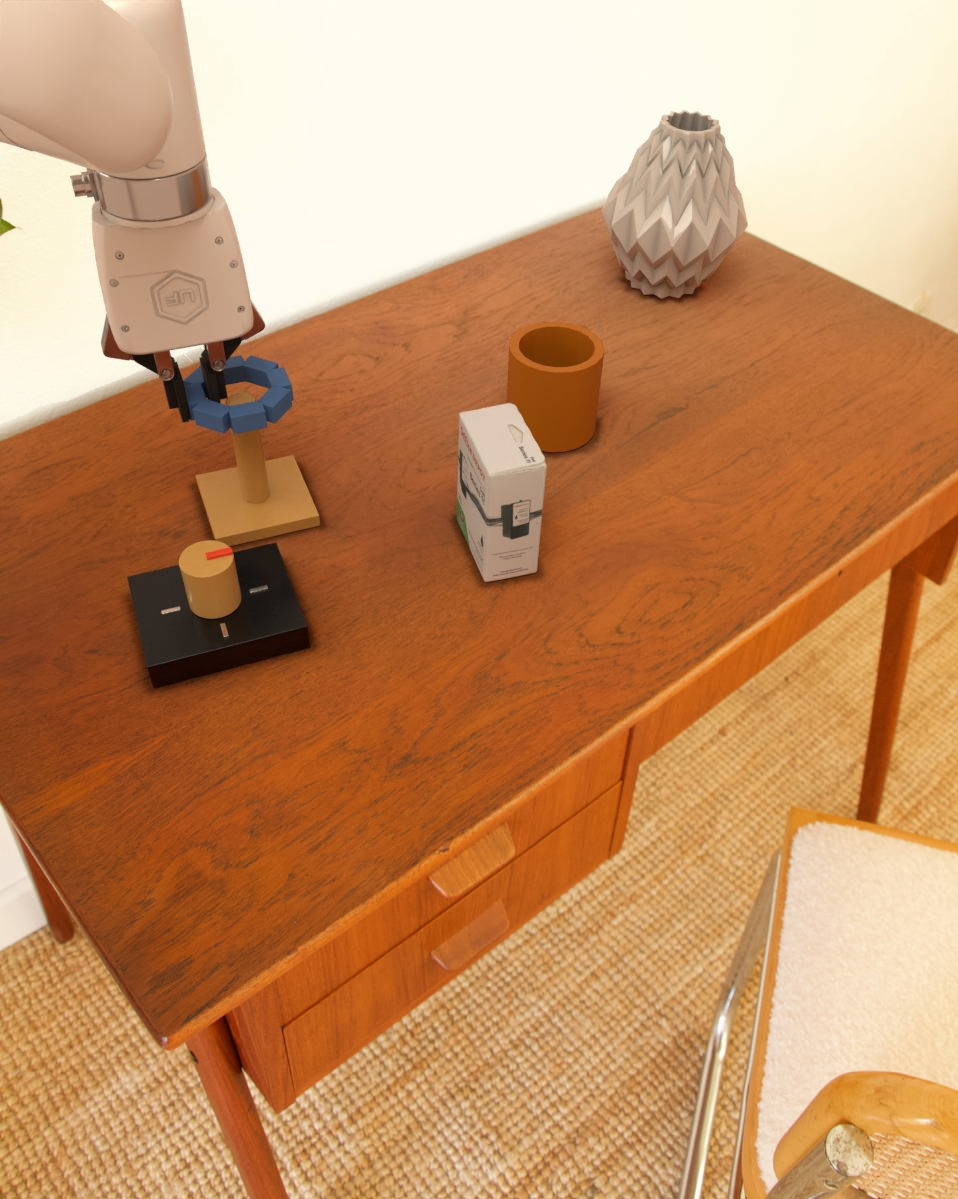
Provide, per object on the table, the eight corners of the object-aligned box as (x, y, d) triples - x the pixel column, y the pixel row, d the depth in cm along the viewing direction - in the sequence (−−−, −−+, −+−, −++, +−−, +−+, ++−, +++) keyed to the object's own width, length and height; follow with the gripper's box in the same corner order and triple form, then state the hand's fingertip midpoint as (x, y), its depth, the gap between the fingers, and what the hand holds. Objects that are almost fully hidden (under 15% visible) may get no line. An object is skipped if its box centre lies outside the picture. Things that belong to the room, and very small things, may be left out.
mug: (630, 410, 103) (644, 331, 96) (558, 465, 96) (567, 384, 90) (560, 376, 107) (568, 298, 100) (486, 426, 100) (489, 346, 94)
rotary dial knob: (194, 624, 77) (183, 579, 74) (184, 589, 80) (173, 544, 76) (246, 611, 78) (238, 566, 75) (235, 577, 81) (226, 532, 77)
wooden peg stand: (217, 549, 87) (195, 443, 79) (197, 485, 92) (174, 380, 84) (320, 525, 89) (309, 420, 81) (294, 464, 95) (281, 361, 87)
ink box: (453, 518, 90) (455, 407, 82) (506, 509, 92) (514, 398, 83) (483, 585, 85) (489, 473, 76) (539, 574, 86) (550, 462, 77)
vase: (721, 252, 127) (754, 96, 113) (739, 321, 115) (778, 156, 102) (590, 245, 127) (609, 88, 114) (595, 314, 115) (616, 148, 102)
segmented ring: (197, 441, 79) (193, 425, 78) (177, 383, 84) (174, 366, 83) (303, 420, 81) (301, 403, 80) (277, 364, 87) (275, 348, 86)
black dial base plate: (153, 688, 76) (146, 665, 74) (133, 598, 82) (126, 574, 80) (310, 647, 79) (307, 624, 77) (279, 563, 86) (276, 540, 84)
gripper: (35, 224, 64) (104, 457, 77) (282, 190, 69) (307, 416, 82) (26, 175, 69) (92, 402, 82) (257, 147, 73) (284, 366, 87)
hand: (199, 407), depth 82 cm, fingers closed on segmented ring, 2 cm apart
